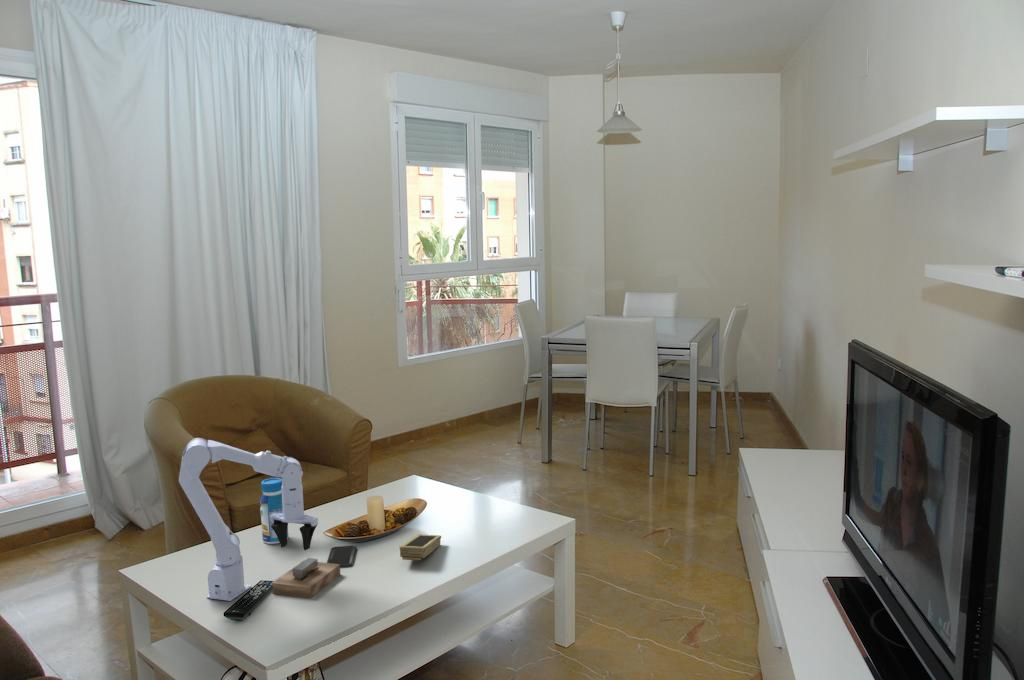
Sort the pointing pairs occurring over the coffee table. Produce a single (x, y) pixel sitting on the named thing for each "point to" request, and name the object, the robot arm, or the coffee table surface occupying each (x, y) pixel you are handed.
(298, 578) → the metal staple
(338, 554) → the phone
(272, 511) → the beverage bottle
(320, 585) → the wooden board with holes
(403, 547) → the box
